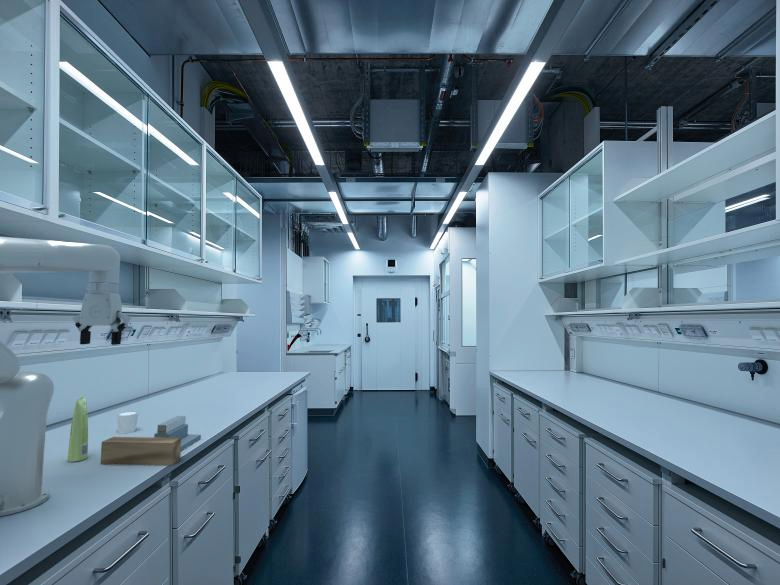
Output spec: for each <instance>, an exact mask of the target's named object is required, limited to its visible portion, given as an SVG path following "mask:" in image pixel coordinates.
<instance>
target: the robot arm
mask: <svg viewBox="0 0 780 585" xmlns="http://www.w3.org/2000/svg"><path fill="white" fill-rule="evenodd" d="M120 266H121V255H120V253H119V252H118V251H117V249H115V248H114V247H113V246H110V245H108V244H107V245H106V244H97V243H83V242H82V243H81V242H71V241H70V242H69V241H68V242H67V241H59V240H52V239H51V240H48V239H37V238H25V237H23V238H22V237H10V236H0V274H29V273H31V274H33V273H36V274H38V273H40V274H43V273H47V274H49V273H51V274H52V273H53V274H54V273H65V272H87V271H88V272H89V273H88V275H89V276H88V285H86V286H85V290H87V291H88V293H87V292H85V294H84V297H83V300H82V303H81V308H80V313H78V314H77V315H75V316H73V318H72V319H73V322H74V323H75V324H74V325H75V327H76V328H77V330H78V331H79V332H80V335H79V344H80V345H90V344H91V336H92V335H91V334H92V331H91V329H92V327H93V326H94V327H95V326H102V327H103V326H104V327H105V326H110V328H111V329H112V330H113V331H112V332H111V342H110V344H111V345H112V346H116V345H121V342H122V333H123V332H124V331H125V330H126V328H127V327H128V326H129V323H130V321H131V319H132V318H131V317H130V316H129V315H126V314H125V313H123V312H122V311H123V310H122V309H123V308H122V299H121V294H119V287H120V285H119V284H120V269H121V267H120ZM20 370H21V361H20V359H19V357H18V356H17V355H16V353H15V352H14V351H13V350H12V349H11V348H10V347H8V346H7V345H6V344H5V343H4V342H3V341H2V340H1V339H0V413H2V415H1V417H0V517H1V516H2V517H4V516H7V515H13V514H17V513H20V512H24V511H27V510H29V509H32V508H35V507H37V506H39V505H41V504H43V503H44V502H46V501H47V500H48V499H49V497H50V493H51V492H50V490H49V489H47V488H43V478H44V476H43V475H44V474H43V473H44V460H45V449H46V448H45V443H46V431H47V420H48V413H49V409H50V405H51V402H52V399H53V396H54V391H55V385H54V382H53V380H52V379H51V378H50V377H49V376H47V375H46V374H44V373H41V372H36V371H20Z"/></svg>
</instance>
